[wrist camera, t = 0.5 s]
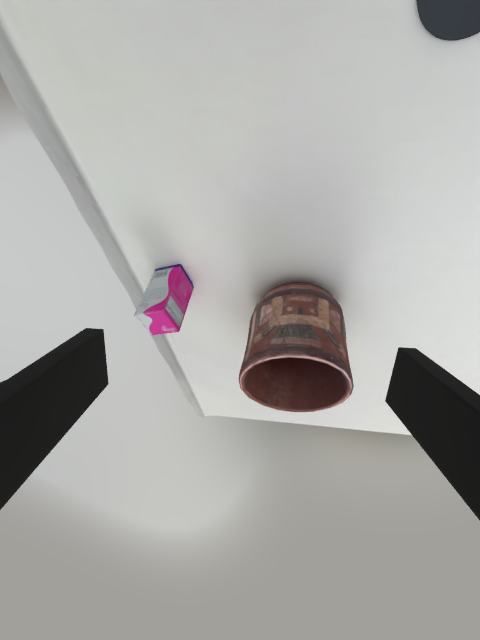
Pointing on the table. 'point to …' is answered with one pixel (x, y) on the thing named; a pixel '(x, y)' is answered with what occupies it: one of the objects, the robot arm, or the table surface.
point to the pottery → (297, 351)
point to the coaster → (450, 18)
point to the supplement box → (165, 300)
